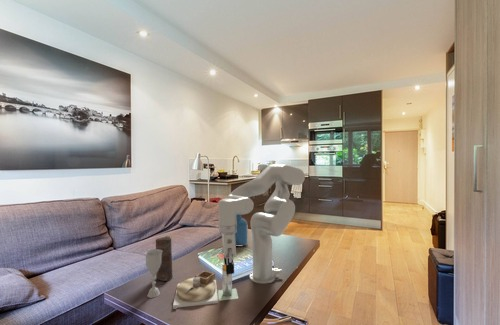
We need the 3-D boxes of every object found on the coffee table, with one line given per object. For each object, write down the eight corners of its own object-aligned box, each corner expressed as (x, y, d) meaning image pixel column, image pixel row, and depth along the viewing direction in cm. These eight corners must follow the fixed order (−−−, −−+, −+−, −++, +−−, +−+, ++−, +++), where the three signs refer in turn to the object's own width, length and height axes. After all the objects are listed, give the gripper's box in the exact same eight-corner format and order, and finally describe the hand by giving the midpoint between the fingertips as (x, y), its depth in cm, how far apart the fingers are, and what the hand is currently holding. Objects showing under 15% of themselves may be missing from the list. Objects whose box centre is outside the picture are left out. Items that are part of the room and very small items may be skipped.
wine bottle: (251, 243, 166) (251, 200, 167) (240, 248, 155) (240, 203, 155) (235, 240, 174) (235, 199, 174) (224, 245, 162) (224, 201, 163)
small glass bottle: (229, 290, 103) (229, 262, 103) (233, 295, 99) (233, 266, 99) (221, 293, 101) (220, 264, 101) (224, 297, 97) (224, 268, 97)
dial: (197, 305, 90) (197, 292, 90) (168, 294, 98) (168, 282, 98) (223, 286, 104) (223, 274, 104) (196, 277, 112) (196, 267, 112)
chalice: (165, 289, 105) (164, 249, 105) (159, 298, 98) (159, 255, 98) (148, 290, 104) (148, 249, 105) (141, 299, 98) (141, 255, 98)
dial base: (215, 283, 110) (215, 279, 110) (217, 304, 94) (217, 300, 94) (178, 286, 107) (178, 283, 107) (173, 309, 91) (173, 305, 91)
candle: (154, 283, 111) (154, 240, 111) (156, 276, 118) (156, 235, 118) (172, 281, 113) (172, 238, 113) (172, 274, 120) (172, 234, 120)
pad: (236, 289, 105) (236, 288, 105) (238, 299, 97) (238, 298, 97) (217, 291, 103) (217, 290, 103) (218, 301, 95) (218, 300, 95)
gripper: (239, 233, 93) (240, 277, 93) (234, 222, 110) (235, 259, 110) (220, 235, 91) (221, 279, 91) (217, 223, 108) (218, 260, 108)
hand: (229, 268), depth 101 cm, fingers open, 9 cm apart
